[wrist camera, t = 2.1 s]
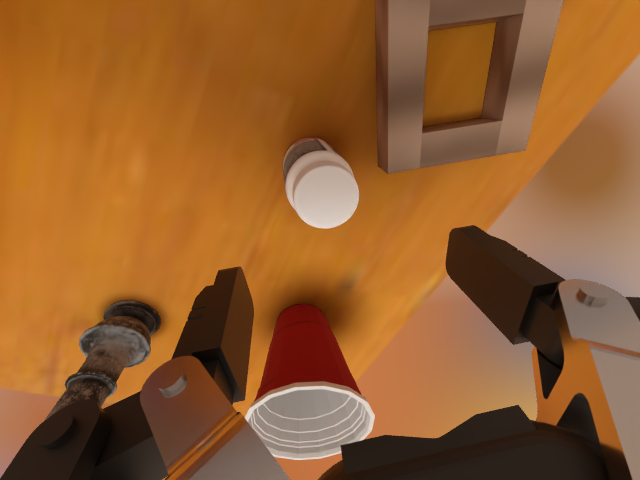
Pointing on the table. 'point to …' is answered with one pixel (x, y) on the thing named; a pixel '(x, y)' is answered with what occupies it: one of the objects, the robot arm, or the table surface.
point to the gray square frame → (501, 91)
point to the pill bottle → (319, 183)
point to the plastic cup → (307, 391)
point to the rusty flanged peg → (110, 352)
